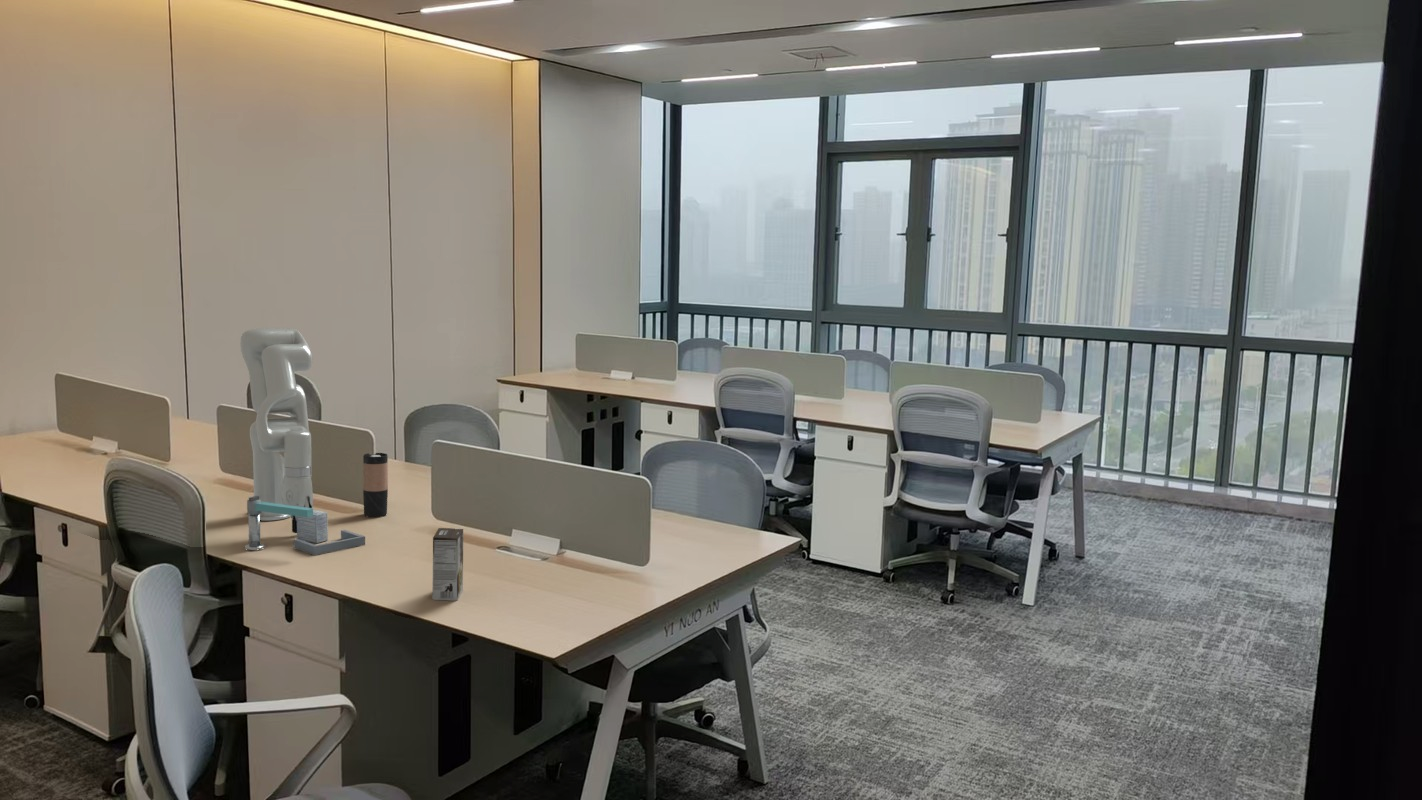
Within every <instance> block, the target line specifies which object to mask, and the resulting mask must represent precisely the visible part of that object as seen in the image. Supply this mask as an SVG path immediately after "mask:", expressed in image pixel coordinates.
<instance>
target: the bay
mask: <svg viewBox="0 0 1422 800" xmlns="http://www.w3.org/2000/svg"><path fill="white" fill-rule="evenodd" d="M341 539H342V540H341ZM361 545H362V546H366V536H365V535H362V534H359V533H356V532H354V531H350V530H347V529H343V530H340V540H336V541H330V542H325V543H321V544H315V543H312V542H308V541H303V540H300V539H297V538H295V539H294V540H293V548H294V549H295V548H296V550H298V551H301V552H305V553H306V552H307V553H306V554H309V553H310V555H312V556H319V555H323V554H328V553H332V552H337V551H342V550H347V549H351V548H357V547H360V546H361ZM356 546H357V547H356Z"/></svg>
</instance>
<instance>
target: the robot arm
mask: <svg viewBox="0 0 1422 800" xmlns="http://www.w3.org/2000/svg"><path fill="white" fill-rule="evenodd" d="M240 352H241V355H242V358H243V359H244V363H245V365H246V367H247V371H248V375H249V376H248V377H249V385H250V398H251V404H252V409H253V410H254V412H255V413H256V418H255V421H253V423H251V425H250V426H249V438H250V443H251V450H252V461H253V462H252V467H253V496H259V499H260V500H261V502H267V503H275V504H283V505H290V506H298V507H306V508H313V509H314V494H313V492H314V491H313V490H314V489H313V482H312V434H311V431H310V428H309V426H310V425H309V418H308V407H307V406H308V405H307V397H306V394H305V391H304V389H303V386H301V385H299V384H298V383H297V382H296V376H295V375H296V374H295V372H303V371H304V372H305V371H306V372H307V371H309V370H311V368H312V365H313V355H312V351H311V348H310V346H309V344H308V342H307V341H306V339H305V338H304V335H302V333H301V332H300V331H299V330H298V329H296V328H292V327H291V328H288V327H287V328H285V327H284V328H283V327H282V328H280V327H279V328H278V327H277V328H276V327H275V328H273V327H272V328H270V327H269V328H268V327H267V328H266V327H265V328H263V327H262V328H251V329H248V330H245V331H243V333H242V334H241V337H240ZM275 414H276V415H278V414H280V415H281V414H282V415H283V414H288V415H289V416H290V417H288V416H287V417H272V418H271V417H270V418H268V415H275ZM282 452H283V455H282V454H281V453H282ZM288 518H291V533H294V534H297V516H294V515H286V514H279V513H271V512H263V511H261V513H260V520H261V521H262V522H265V521H266V522H267V521H268V522H269V521H278V520H279V521H280V520H284V519H288ZM261 521H260V522H261Z"/></svg>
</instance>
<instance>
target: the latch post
mask: <svg viewBox="0 0 1422 800" xmlns="http://www.w3.org/2000/svg"><path fill="white" fill-rule="evenodd" d="M247 515H248V544H246V545H245V546H244V549H247V550H257V549H262V548H264V549H265V544H263V543H261V521H260V514H256V515H250V514H247ZM247 550H246V551H247ZM262 550H263V549H262Z"/></svg>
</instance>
